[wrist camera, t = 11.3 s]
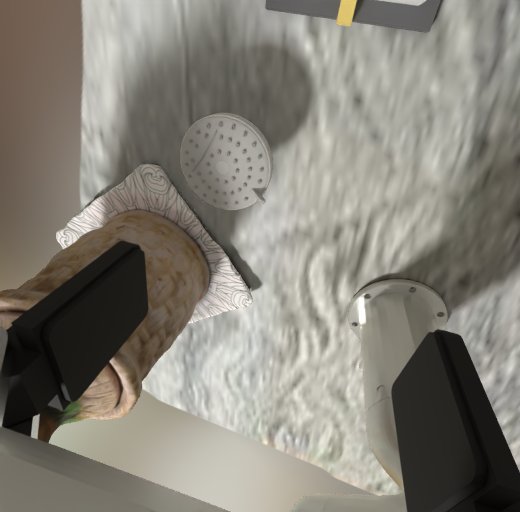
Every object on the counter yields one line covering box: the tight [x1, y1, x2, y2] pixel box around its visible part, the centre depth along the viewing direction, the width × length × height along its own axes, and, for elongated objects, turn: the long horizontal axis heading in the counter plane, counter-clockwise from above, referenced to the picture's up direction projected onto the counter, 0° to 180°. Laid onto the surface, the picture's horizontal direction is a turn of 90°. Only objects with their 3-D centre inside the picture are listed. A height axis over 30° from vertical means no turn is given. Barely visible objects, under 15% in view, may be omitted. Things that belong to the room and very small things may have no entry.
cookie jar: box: [0, 164, 253, 443], centre depth 34 cm, size 25×25×32 cm
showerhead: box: [180, 113, 273, 210], centre depth 32 cm, size 9×7×10 cm
